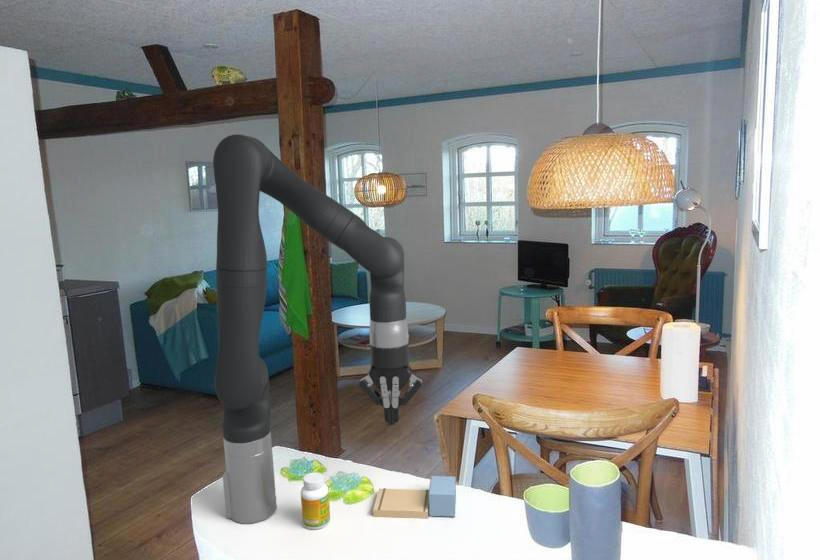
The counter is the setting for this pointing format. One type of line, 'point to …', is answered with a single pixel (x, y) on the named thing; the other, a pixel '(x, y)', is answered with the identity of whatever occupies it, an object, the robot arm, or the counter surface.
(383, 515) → the board
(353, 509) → the counter surface
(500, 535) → the counter surface
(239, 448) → the robot arm
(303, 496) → the supplement bottle
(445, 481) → the stub
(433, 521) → the counter surface
